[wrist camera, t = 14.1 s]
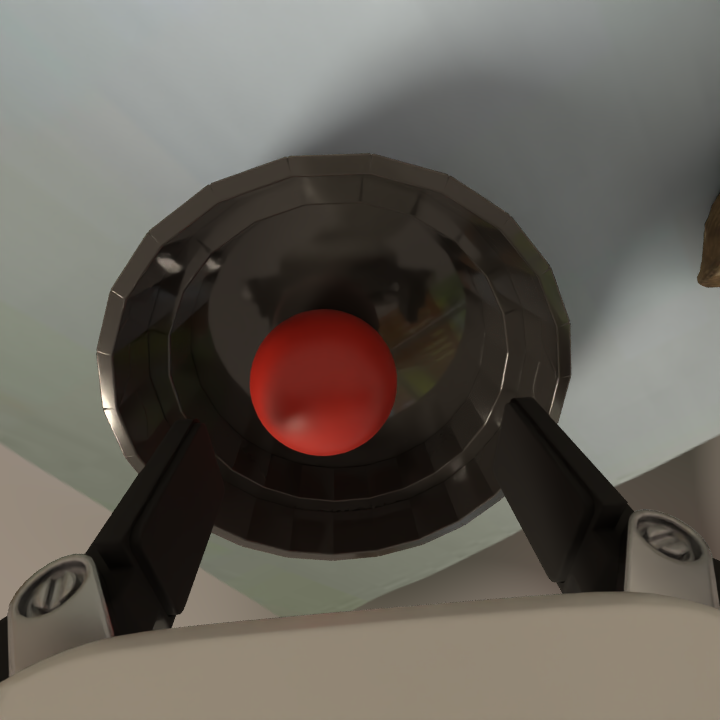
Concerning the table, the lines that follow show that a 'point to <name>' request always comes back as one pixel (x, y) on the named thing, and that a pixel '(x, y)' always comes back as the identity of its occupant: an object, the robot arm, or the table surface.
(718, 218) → the fossilized seashell
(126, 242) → the table surface
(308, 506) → the bowl
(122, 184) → the table surface
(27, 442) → the table surface
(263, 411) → the red ball
